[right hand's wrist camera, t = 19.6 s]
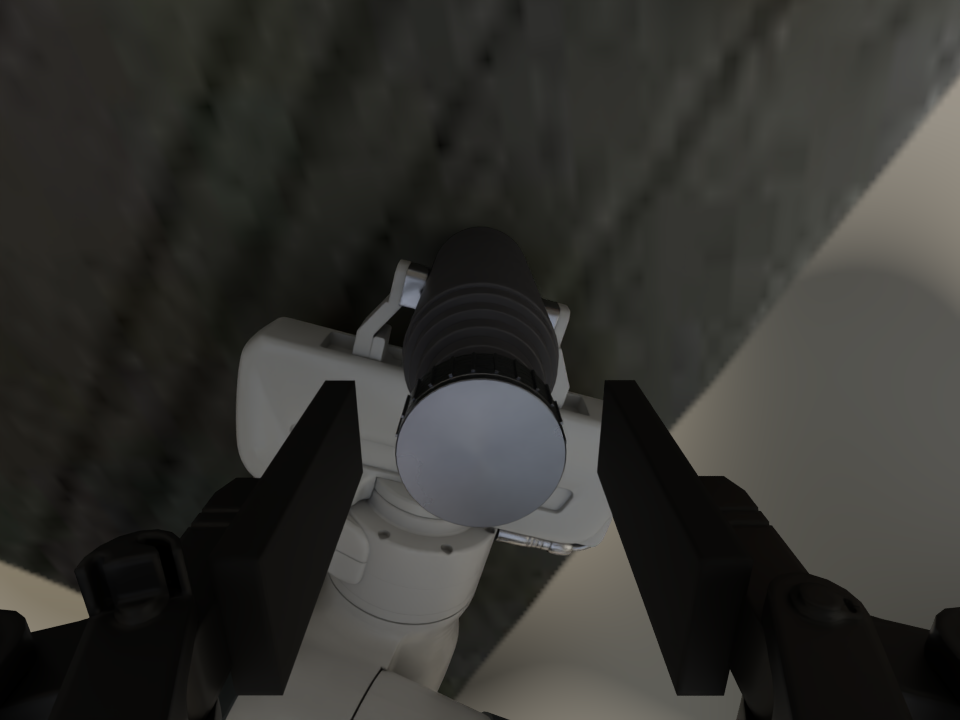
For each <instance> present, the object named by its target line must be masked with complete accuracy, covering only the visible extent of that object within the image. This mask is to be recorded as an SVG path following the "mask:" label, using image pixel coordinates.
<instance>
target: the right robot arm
mask: <svg viewBox="0 0 960 720" xmlns="http://www.w3.org/2000/svg"><path fill="white" fill-rule="evenodd" d="M362 474H363V465H362V454H361V442H360V431H359V420H358V409H357V397H356V386H355V380H325V382H324V383H323V385H322V386H321V388H320V389H319V391H318V392H317V394H316V395H315V397H314V398H313V400H312V401H311V403H310V404H309V406H308V407H307V409H306V410H305V412H304V413H303V415H302V416H301V418H300V419H299V421H298V422H297V424H296V425H295V427H294V428H293V430H292V431H291V433H290V434H289V436H288V437H287V439H286V440H285V442H284V443H283V445H282V446H281V448H280V449H279V451H278V452H277V454H276V455H275V457H274V458H273V460H272V461H271V463H270V464H269V466H268V467H267V469H266V470H265V472H264V473H263V475H262V476H261V478H236V479H234V480H233V481H231V482H230V483H228V484H227V485H225V486H224V487H223V488H221V489H220V490H218V491H217V492H215V494H214V495H213V496H212V497H211V499H210V500H209V501H208V503H207V504H206V505H205V507H204V508H203V509H202V513H199V514H198V516H197V517H196V518H195V520H194V521H193V522H192V524H191V527H188V529H187V530H186V531H185V533H184V534H183V535H182V537H181V538H178V537H177V536H176V535H175V534H174V533H172V532H168V531H164V530H159V529H156V530H143V531H137V532H134V533H130V534H126V535H123V536H120V537H117V538H115V539H113V540H111V541H109V542H107V543H105V544H103V545H101V546H99V547H98V548H96V549H95V550H94V551H92V552H91V553H90V554H88V555H87V556H86V557H84V558H83V560H82V561H81V562H80V564H79V565H78V566H77V567H76V569H75V570H74V572H75V575H76V578H77V581H78V584H79V587H80V590H81V593H82V596H83V599H84V602H85V605H86V608H87V611H88V614H89V618H88V619H84V620H81V621H78V622H73V623H69V624H65V625H60V626H56V627H52V628H48V629H44V630H39V631H35V632H30V629H29V627H28V624H27V622H26V619H25V618H24V617H23V616H22V615H21V614H19V613H18V612H17V611H11V610H1V609H0V720H222V714H221V707H220V702H219V698H218V696H219V694H220V692H221V690H222V687H223V685H224V683H225V681H226V679H227V677H228V675H229V673H230V671H231V675H232V680H233V684H234V689H235V693H236V696H283V694H284V691H285V688H286V686H287V683H288V680H289V677H290V674H291V672H292V669H293V666H294V663H295V660H296V658H297V655H298V652H299V649H300V647H301V644H302V641H303V638H304V635H305V633H306V630H307V627H308V624H309V622H310V619H311V616H312V613H313V610H314V608H315V605H316V602H317V599H318V597H319V594H320V591H321V588H322V585H323V583H324V580H325V577H326V574H327V571H328V569H329V566H330V563H331V560H332V558H333V555H334V552H335V549H336V546H337V544H338V541H339V538H340V535H341V533H342V530H343V527H344V524H345V521H346V519H347V516H348V513H349V510H350V508H351V505H352V502H353V499H354V496H355V494H356V491H357V488H358V485H359V482H360V480H361V477H362ZM597 474H598V477H599V480H600V482H601V485H602V488H603V491H604V494H605V496H606V499H607V502H608V505H609V508H610V510H611V513H612V516H613V519H614V521H615V524H616V527H617V530H618V532H619V535H620V538H621V541H622V544H623V546H624V549H625V552H626V555H627V558H628V560H629V563H630V566H631V569H632V571H633V574H634V577H635V580H636V583H637V585H638V588H639V591H640V594H641V597H642V599H643V602H644V605H645V608H646V610H647V613H648V616H649V619H650V622H651V624H652V627H653V630H654V633H655V635H656V638H657V641H658V644H659V647H660V649H661V652H662V655H663V658H664V661H665V663H666V666H667V669H668V672H669V674H670V677H671V680H672V683H673V685H674V688H675V691H676V694H677V695H678V696H724V693H725V688H726V684H727V680H728V675H729V670H731V672H732V674H733V676H734V678H735V680H736V683H737V685H738V687H739V689H740V691H741V693H742V698H741V702H740V707H739V711H738V715H737V719H736V720H960V607H956V608H946V609H944V610H942V611H941V612H940V613H939V614H937V615H936V617H935V619H934V622H933V624H932V627H931V629H930V630H927V629H923V628H918V627H914V626H910V625H906V624H901V623H897V622H893V621H888V620H884V619H880V618H877V617H874V616H870V615H869V613H868V612H867V610H866V609H865V607H864V606H863V604H862V603H861V602H860V601H859V600H858V599H857V598H855V597H854V596H853V595H852V594H851V593H850V592H848V591H847V590H846V589H844V588H842V587H840V586H839V585H837V584H835V583H833V582H831V581H829V580H827V579H824V578H821V577H817V576H814V575H811V574H809V573H808V572H807V570H806V569H805V568H804V566H803V565H802V564H801V563H800V561H799V560H798V559H797V557H796V556H795V555H794V553H793V552H792V551H791V550H790V548H789V547H788V546H787V544H786V543H785V542H784V541H783V539H782V538H781V537H780V535H779V534H778V533H777V531H776V530H775V529H774V528H773V526H771V525H769V521H768V520H767V518H766V517H765V516H764V515H763V513H762V512H761V511H758V507H757V506H756V504H755V503H754V502H753V500H752V499H751V498H750V496H749V495H748V494H747V493H746V491H745V490H743V489H742V488H740V487H739V486H737V485H736V484H734V483H733V482H732V481H730V480H729V479H727V478H726V477H724V476H698V475H697V473H696V472H695V470H694V469H693V467H692V466H691V464H690V463H689V461H688V460H687V458H686V457H685V455H684V454H683V452H682V451H681V449H680V448H679V446H678V445H677V443H676V442H675V440H674V439H673V437H672V436H671V434H670V433H669V431H668V430H667V428H666V427H665V425H664V424H663V422H662V421H661V419H660V418H659V416H658V415H657V413H656V412H655V410H654V409H653V407H652V406H651V404H650V403H649V401H648V400H647V398H646V397H645V395H644V394H643V392H642V391H641V389H640V388H639V386H638V385H637V383H636V382H635V380H605V386H604V397H603V409H602V420H601V431H600V442H599V454H598V465H597Z"/></svg>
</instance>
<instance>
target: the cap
mask: <svg viewBox="0 0 960 720" xmlns="http://www.w3.org/2000/svg"><path fill="white" fill-rule="evenodd" d="M562 425H563V420H562V417H561V414H560V410H559V407H558V404H557V401H554V400H553V397H552V395H551V392H550V389H549V385H548V384H545V383H544V382H543V381H542V380H541V379H540V377H539V376H537V375H536V372H535V370H533V369H532V370H530V369H529V368H528V367H526V366H525V365H523V364H521V363H519V362H518V360H517V359H514V360H513V359H510V358H507V357H504V356H500V355H497V353H494V354H487V353H475V352H472V354H466V355H461V356H458V357H454V356H452V357H451V359H449V360H446V361H444V362H442V363H440V364H439V365H437V366H435V365H434V366H432V369H431V370H430V371H429V372H427V373H426V374H425V375H424V376H423V377H422V378H421V379H420V378H419V379H418V380H417V382H416V386H415V387H414V389H413V390H412V392H411V394H410V395H407V397H406V401H405V404H404V408H403V411H402V414H401V418H400V421H399V425H398V428H397V431H396V435H395V437H397V440H396V447H395V458H396V466H397V470H398V473H399V476H400V478H401V481H402V483H403V485H404V486H405V488H406V490H407V491H408V493H409V494H410V495H411V497H412V498H413V499H414V500H415V501H416V502H417V503H418V504H419V505H420V506H421V507H423V508H424V509H425V510H426V511H428V512H429V513H431V514H433V515H434V516H436V517H438V518H440V519H442V520H444V521H447V522H450V523H453V524H456V525H461V526H466V527H476V528H482V527H495V526H501V525H505V524H509V523H512V522H514V521H517V520H520V519H522V518H524V517H526V516H528V515H529V514H531V513H532V512H534V511H535V510H537V509H538V508H539V507H540V506H541V505H543V504H544V503H545V502H546V501H547V500H548V498H549V497H550V496H551V495H552V494H553V492H554V491H555V489H556V488H557V486H558V484H559V482H560V480H561V478H562V475H563V472H564V469H565V464H566V452H567V450H566V444H567V440H566V437H565V434H564V430H563V427H562Z"/></svg>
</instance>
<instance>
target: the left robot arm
mask: <svg viewBox="0 0 960 720" xmlns="http://www.w3.org/2000/svg"><path fill="white" fill-rule="evenodd" d="M430 269H431V268H430V267H427V266H424V265H420V264H417V263H414V262H411V261H407V260H403V259H401V260H400V261H399V263H398V265H397V269H396V272H395V275H394V280H393V284H392V288H391V293H390V294H389V295H388V296H387V297H386V298H385V299H384V300H383V301H382V302H381V303H380V304H379V305H378V306H377V307H376V308H375V309H374V310H373V311H372V312H371V313H370V314H369V315H368V316H367V317H366V318H365V320H364V321H363V323H362V324H361V326H360V327H359V329H358V330H357V334H356V335H353V334H349V333H346V332H342V331H338V330H334V329H330V328H327V327H323V326H319V325H315V324H311V323H308V322H304V321H300V320H296V319H293V318H288V317H281V318H278V319H276V320H274V321H273V322H271V323H270V324H268V325H266V326H265V327H263V328H262V329H261V330H259V331H258V332H257V333H256V334H255V335H253V336H252V337H251V338H250V339H249V341H248V342H247V343H246V345H245V346H244V348H243V351H242V353H241V357H240V363H239V370H238V380H237V394H236V437H237V447H238V451H239V455H240V458H241V460H242V462H243V464H244V466H245V467H246V469H247V470H248V471H249V473H250V474H251V475H252V476H254V478H261V476H262V475H263V473H264V472H265V470H266V469H267V467H268V466H269V464H270V463H271V461H272V460H273V458H274V457H275V455H276V454H277V452H278V451H279V449H280V448H281V446H282V445H283V443H284V442H285V440H286V439H287V437H288V436H289V434H290V433H291V431H292V430H293V428H294V427H295V425H296V424H297V422H298V421H299V419H300V418H301V416H302V415H303V413H304V412H305V410H306V409H307V407H308V406H309V404H310V403H311V401H312V400H313V398H314V397H315V395H316V394H317V392H318V391H319V389H320V388H321V386H322V385H323V383H324V382H325V380H355V386H356V397H357V409H358V420H359V431H360V442H361V454H362V465H363V474H362V477H361V480H360V482H359V485H358V488H357V491H356V494H355V496H354V499H353V502H352V505H351V508H350V510H349V513H348V516H347V519H346V521H345V524H344V527H343V530H342V533H341V535H340V538H339V541H338V544H337V546H336V549H335V552H334V555H333V558H332V560H331V563H330V566H329V569H328V571H327V574H326V577H325V580H324V583H323V585H322V588H321V591H320V594H319V597H318V599H317V602H316V605H315V608H314V610H313V613H312V616H311V619H310V622H309V624H308V627H307V630H306V633H305V635H304V638H303V641H302V644H301V647H300V649H299V652H298V655H297V658H296V660H295V663H294V666H293V669H292V672H291V674H290V677H289V680H288V683H287V686H286V688H285V691H284V694H283V696H236V693H235V689H234V684H233V680H232V675H231V671H230V673H229V675H228V677H227V679H226V681H225V683H224V685H223V687H222V690H221V692H220V694H219V696H218V698H219V702H220V707H221V714H222V720H508V719H505V718H503V717H500V716H497V715H494V714H491V713H489V712H482V713H481V712H478V711H476V710H474V709H472V708H470V707H468V706H465V705H463V704H461V703H459V702H457V701H455V700H453V699H450V698H448V697H446V696H444V695H442V694H440V693H438V692H437V691H438V689H439V686H440V684H441V682H442V680H443V678H444V675H445V673H446V670H447V668H448V665H449V663H450V660H451V658H452V655H453V652H454V649H455V646H456V643H457V638H458V631H459V617H460V616H461V615H462V613H463V612H464V611H465V609H466V608H467V607H468V605H469V604H470V602H471V600H472V598H473V596H474V593H475V591H476V588H477V585H478V582H479V580H480V577H481V574H482V571H483V568H484V566H485V563H486V560H487V557H488V555H489V552H490V549H491V546H492V543H493V542H494V540H496V541H500V542H504V543H508V544H513V545H517V546H523V547H532V548H538V549H539V548H540V549H542V550H546V551H547V552H549V553H552V554H556V555H570V554H571V553H572V551H580V550H585V549H588V548H591V547H595V546H597V545H598V544H599V543H600V542H601V541H602V540H603V538H604V536H605V534H606V532H607V529H608V527H609V525H610V523H611V520H612V513H611V510H610V508H609V505H608V502H607V499H606V496H605V494H604V491H603V488H602V485H601V482H600V480H599V477H598V474H597V465H598V454H599V442H600V431H601V420H602V409H603V400H601V399H597V398H593V397H589V396H585V395H582V394H578V393H574V392H570V391H568V390H569V382H568V377H567V373H566V368H565V363H564V358H563V354H562V349H561V347H560V344H561V341H562V339H563V336H564V333H565V330H566V327H567V324H568V321H569V317H570V310H569V308H568V306H567V305H565V304H561V303H557V302H554V301H550V300H546V299H542V298H541V299H542V301H543V303H544V306H545V308H546V311H547V313H548V316H549V318H550V321H551V323H552V326H553V328H554V331H555V334H556V337H557V341H558V346H559V363H558V372H557V378H556V382H555V385H554V388H553V391H552V393H551V395H552V397H553V400H554V401H557V404H558V407H559V410H560V414H561V417H562V420H563V425H562V427H563V430H564V434H565V437H566V440H567V444H566V450H567V452H566V464H565V469H564V472H563V475H562V478H561V480H560V482H559V484H558V486H557V488H556V489H555V491H554V492H553V494H552V495H551V496H550V497H549V498H548V500H547V501H546V502H545V503H544V504H543V505H541V506H540V507H539V508H538V509H537V510H535V511H534V512H532V513H531V514H529V515H528V516H526V517H524V518H522V519H520V520H517V521H514V522H512V523H509V524H505V525H501V526H495V527H482V528H476V527H466V526H461V525H456V524H453V523H450V522H447V521H444V520H442V519H440V518H438V517H436V516H434V515H433V514H431V513H429V512H428V511H426V510H425V509H424V508H423V507H421V506H420V505H419V504H418V503H417V502H416V501H415V500H414V499H413V498H412V497H411V495H410V494H409V493H408V491H407V490H406V488H405V486H404V485H403V483H402V481H401V478H400V476H399V473H398V470H397V466H396V458H395V447H396V440H397V437H395V435H396V431H397V428H398V425H399V421H400V418H401V414H402V411H403V408H404V404H405V401H406V397H407V395H410V392H409V390H408V388H407V385H406V382H405V377H404V371H403V362H402V349H403V347H399V346H395V345H391V344H388V343H389V338H390V334H391V329H392V327H391V325H388V324H385V323H386V322H387V321H388V320H389V319H390V318H391V317H392V316H393V315H394V314H395V313H396V312H397V311H398V310H399V309H400V308H401V307H402V306H405V307H409V308H413V309H416V306H417V304H418V301H419V299H420V296H421V294H422V291H423V289H424V286H425V284H426V281H427V279H428V276H429V273H430Z"/></svg>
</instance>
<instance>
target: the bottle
mask: <svg viewBox="0 0 960 720" xmlns="http://www.w3.org/2000/svg"><path fill="white" fill-rule="evenodd" d="M472 352H475V353H487V354H494V353H497V355H500V356H504V357H507V358H510V359H513V360H514V359H517V360H518V362H519V363H521V364H523V365H525V366H526V367H528V368H529V369H530V370H532V369H533V370H535V372H536V375H537V376H539V377H540V379H541V380H542V381H543V382H544V383H545V384H548V385H549V389H550V392H551V393H552V391H553V388H554V385H555V382H556V378H557V372H558V363H559V346H558V341H557V337H556V334H555V331H554V328H553V326H552V323H551V321H550V318H549V316H548V313H547V311H546V308H545V306H544V303H543V301H542V299H541V296H540V294H539V291H538V289H537V286H536V284H535V281H534V279H533V276H532V274H531V272H530V269H529V267H528V264H527V262H526V259H525V257H524V255H523V253H522V251H521V249H520V248H519V246H518V245H517V244H516V243H515V241H514V240H513V239H511V238H510V237H509V236H508V235H506V234H504V233H503V232H500V231H498V230H495V229H492V228H487V227H474V228H469V229H465V230H463V231H460V232H458V233H456V234H455V235H453V236H452V237H451V238H449V239H448V240H447V241H446V242H445V243H444V244H443V246H442V247H441V249H440V250H439V252H438V254H437V256H436V259H435V261H434V264H433V266H432V269H431V271H430V274H429V276H428V279H427V281H426V284H425V286H424V289H423V291H422V294H421V296H420V299H419V301H418V304H417V306H416V309H415V311H414V314H413V316H412V319H411V321H410V324H409V326H408V329H407V331H406V334H405V338H404V342H403V349H402V362H403V371H404V377H405V382H406V385H407V388H408V390H409V392H410V394H411V392H412V390H413V389H414V387H415V386H416V382H417V380H418V379H419V378H420V379H421V378H422V377H423V376H424V375H425V374H426V373H427V372H429V371H430V370H431V369H432V366H434V365H435V366H437V365H439V364H440V363H442V362H444V361H446V360H449V359H451V357H452V356H454V357H458V356H461V355H466V354H472Z"/></svg>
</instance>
